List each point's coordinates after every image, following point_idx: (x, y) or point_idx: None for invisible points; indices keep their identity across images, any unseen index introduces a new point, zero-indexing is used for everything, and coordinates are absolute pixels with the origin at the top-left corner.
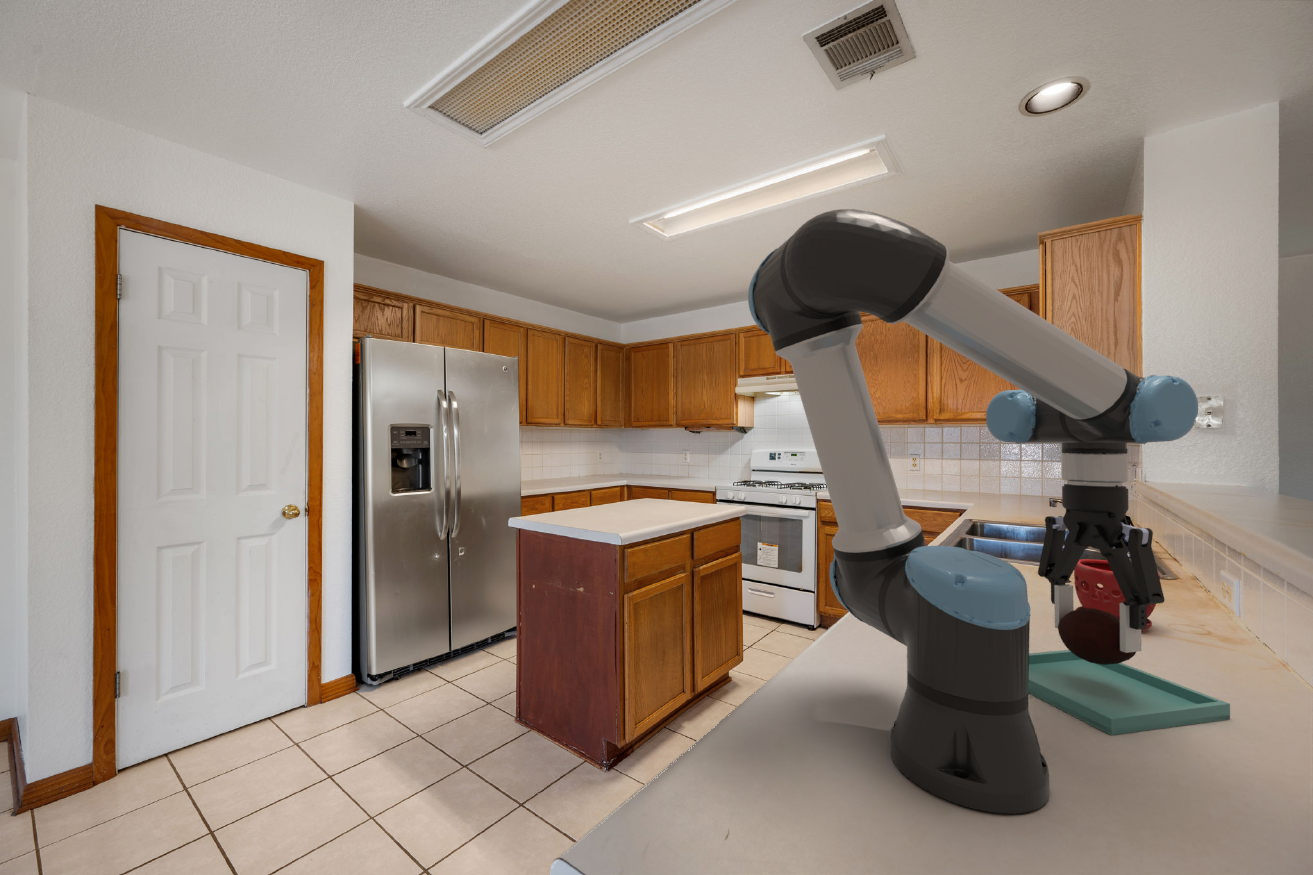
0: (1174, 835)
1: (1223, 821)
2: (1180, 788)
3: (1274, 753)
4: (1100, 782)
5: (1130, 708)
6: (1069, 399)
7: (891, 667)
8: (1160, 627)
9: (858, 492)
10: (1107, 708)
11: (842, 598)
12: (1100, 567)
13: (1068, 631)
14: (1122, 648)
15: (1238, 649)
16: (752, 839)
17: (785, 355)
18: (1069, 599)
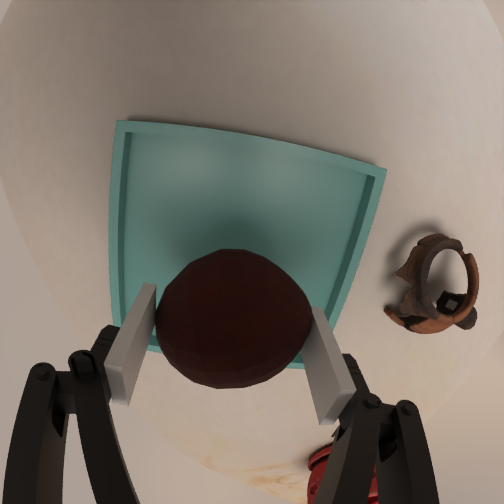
0: (24, 10)
1: (9, 70)
2: (39, 81)
3: (57, 277)
4: (80, 5)
5: (160, 232)
6: None
7: (435, 41)
8: (308, 470)
9: None
10: (172, 196)
11: None
12: (368, 500)
13: (260, 269)
14: (149, 287)
15: (245, 473)
16: None
17: None
18: (316, 384)
